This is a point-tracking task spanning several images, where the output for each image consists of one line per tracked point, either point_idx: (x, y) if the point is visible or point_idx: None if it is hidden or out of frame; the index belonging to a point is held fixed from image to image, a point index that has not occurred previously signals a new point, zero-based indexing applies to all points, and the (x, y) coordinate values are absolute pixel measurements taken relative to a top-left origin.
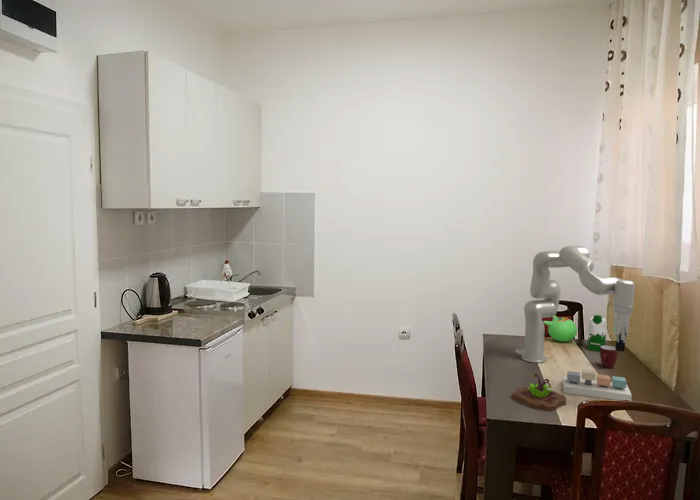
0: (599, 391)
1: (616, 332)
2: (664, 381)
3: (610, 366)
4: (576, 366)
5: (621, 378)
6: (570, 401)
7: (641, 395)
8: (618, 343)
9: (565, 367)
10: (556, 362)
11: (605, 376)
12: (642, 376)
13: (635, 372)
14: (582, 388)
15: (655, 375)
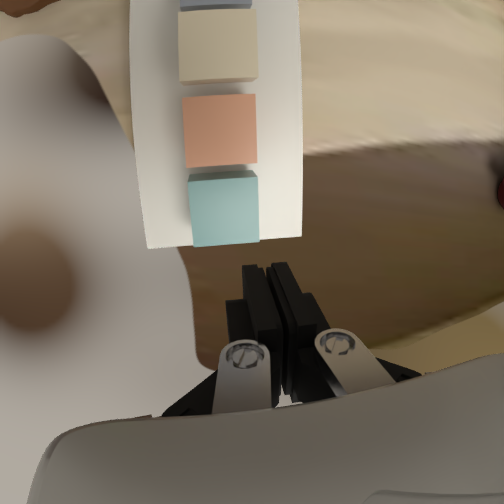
0: (132, 111)
1: (29, 495)
2: (414, 338)
3: (500, 199)
4: (490, 81)
5: (234, 224)
6: (51, 20)
7: None
8: (254, 337)
9: (469, 36)
10: (497, 25)
11: (233, 140)
12: (447, 286)
13: (474, 268)
14: (131, 37)
15: (455, 316)
